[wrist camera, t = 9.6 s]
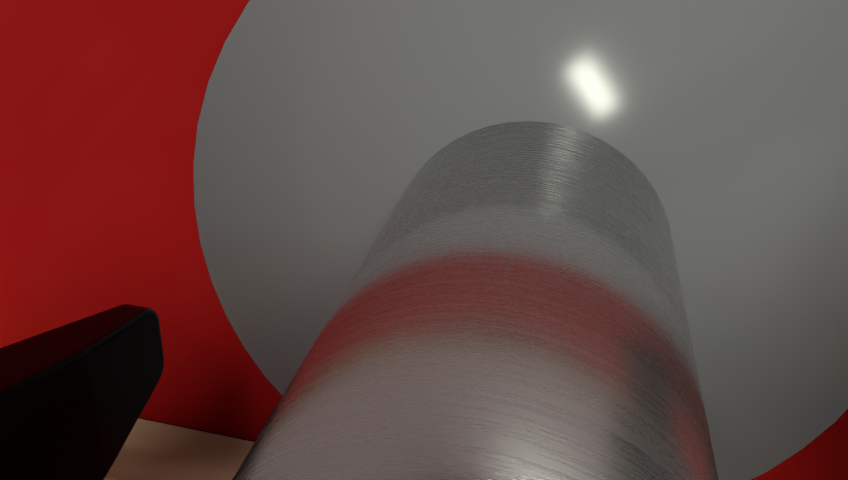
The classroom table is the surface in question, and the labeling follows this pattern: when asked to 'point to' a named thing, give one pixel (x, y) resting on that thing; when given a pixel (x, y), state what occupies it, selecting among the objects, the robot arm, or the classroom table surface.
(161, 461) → the holder
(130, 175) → the classroom table surface
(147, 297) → the classroom table surface
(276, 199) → the saucer
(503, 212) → the shiny steel cylinder
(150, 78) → the classroom table surface
